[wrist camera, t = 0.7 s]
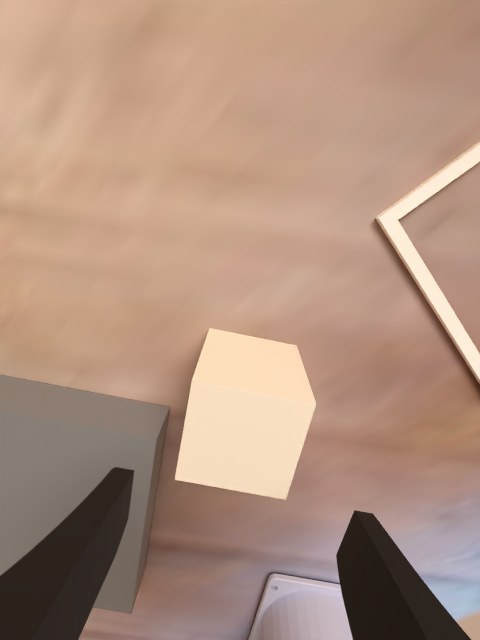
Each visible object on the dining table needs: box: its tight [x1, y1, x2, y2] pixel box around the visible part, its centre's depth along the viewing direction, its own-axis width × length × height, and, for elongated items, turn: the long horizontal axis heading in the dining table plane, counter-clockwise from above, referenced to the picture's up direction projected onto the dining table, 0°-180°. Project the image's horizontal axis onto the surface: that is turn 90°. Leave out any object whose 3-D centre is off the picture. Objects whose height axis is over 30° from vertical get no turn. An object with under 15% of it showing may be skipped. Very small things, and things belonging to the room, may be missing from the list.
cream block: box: [175, 328, 316, 500], centre depth 17 cm, size 5×5×6 cm
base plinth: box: [0, 375, 170, 613], centre depth 21 cm, size 14×14×3 cm
